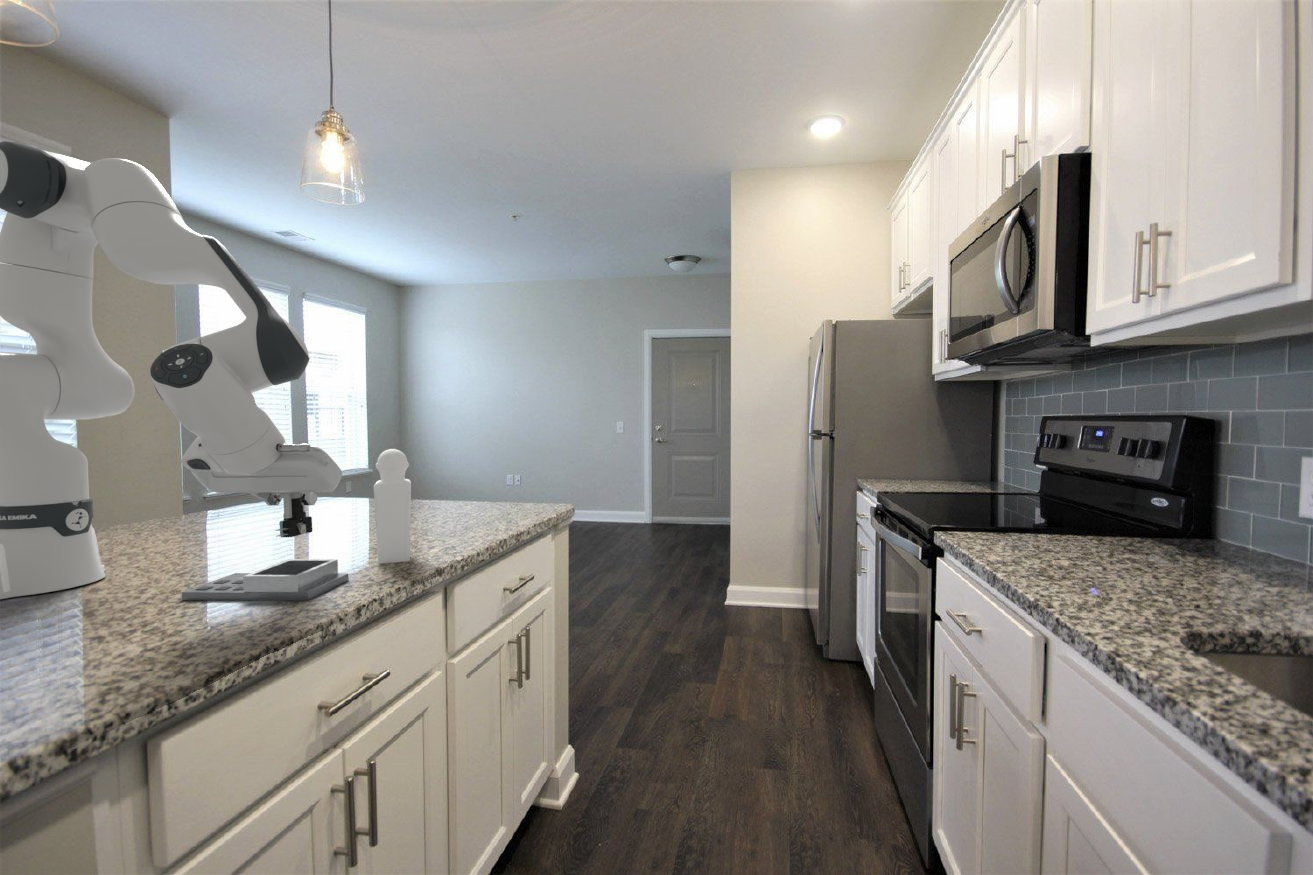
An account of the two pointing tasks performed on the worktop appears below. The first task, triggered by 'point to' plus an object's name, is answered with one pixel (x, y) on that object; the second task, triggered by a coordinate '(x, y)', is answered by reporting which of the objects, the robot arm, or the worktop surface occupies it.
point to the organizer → (274, 582)
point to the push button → (294, 516)
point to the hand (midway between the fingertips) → (293, 502)
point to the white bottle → (392, 508)
